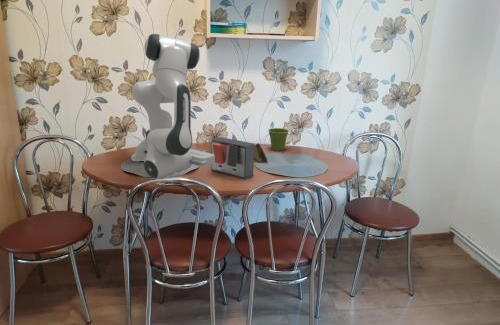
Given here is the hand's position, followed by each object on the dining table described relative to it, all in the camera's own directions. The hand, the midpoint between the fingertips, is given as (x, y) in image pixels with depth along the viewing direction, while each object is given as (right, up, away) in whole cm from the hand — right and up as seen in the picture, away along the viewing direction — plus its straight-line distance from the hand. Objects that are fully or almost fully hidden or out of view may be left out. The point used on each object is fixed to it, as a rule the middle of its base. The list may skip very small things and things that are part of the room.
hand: (204, 151), depth 151 cm
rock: (+24, -4, +34) cm, 42 cm away
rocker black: (+11, -6, +5) cm, 14 cm away
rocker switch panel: (+11, -10, +13) cm, 20 cm away
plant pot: (+35, +3, +54) cm, 65 cm away
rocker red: (+6, -5, +10) cm, 13 cm away
